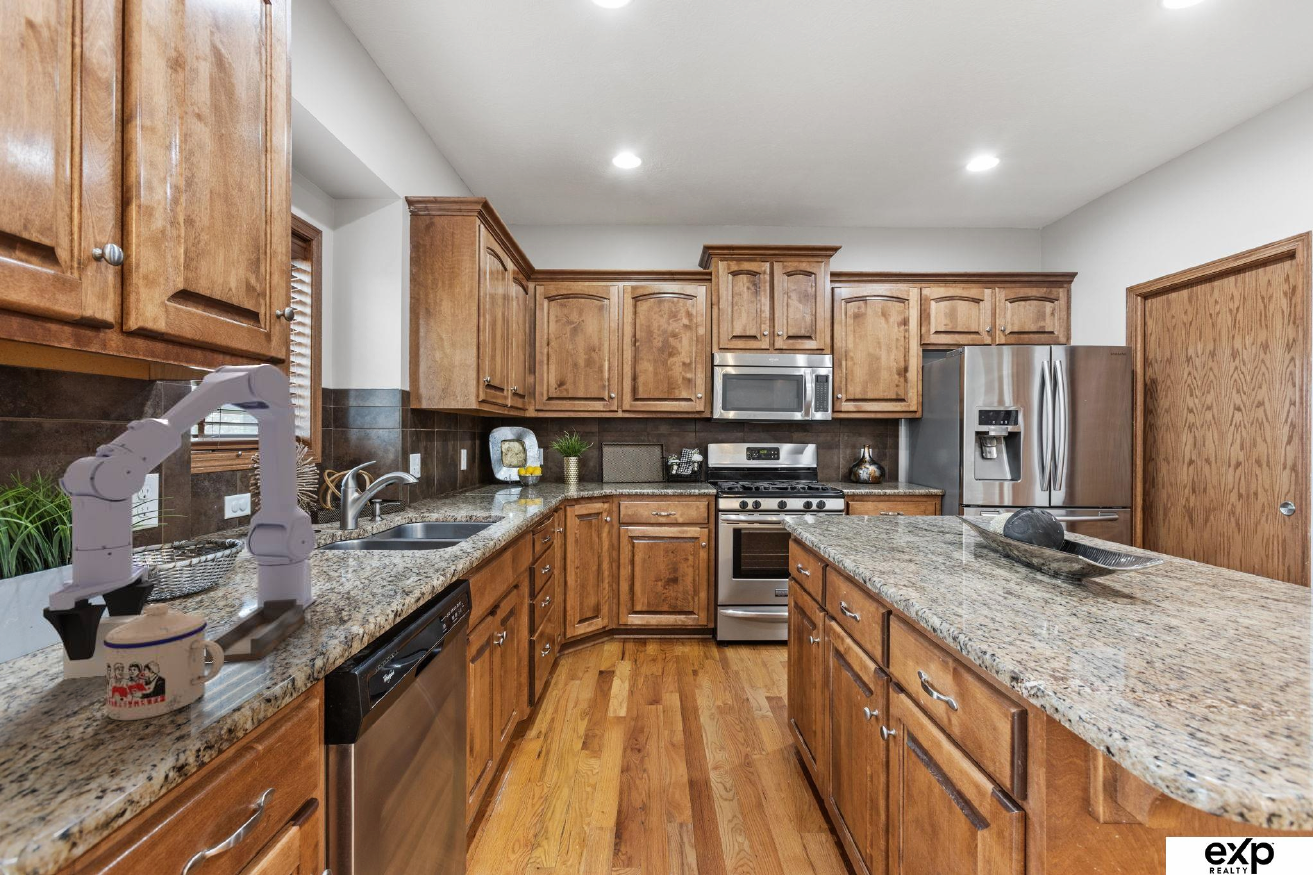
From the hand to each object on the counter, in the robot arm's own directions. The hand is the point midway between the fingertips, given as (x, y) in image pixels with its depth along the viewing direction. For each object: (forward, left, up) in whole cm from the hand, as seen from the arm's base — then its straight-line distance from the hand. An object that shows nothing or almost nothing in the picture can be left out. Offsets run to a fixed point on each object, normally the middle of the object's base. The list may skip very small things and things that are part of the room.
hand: (103, 647), depth 75 cm
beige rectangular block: (0, 0, -3) cm, 3 cm away
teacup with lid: (+12, +14, -4) cm, 19 cm away
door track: (-8, +15, -3) cm, 17 cm away
